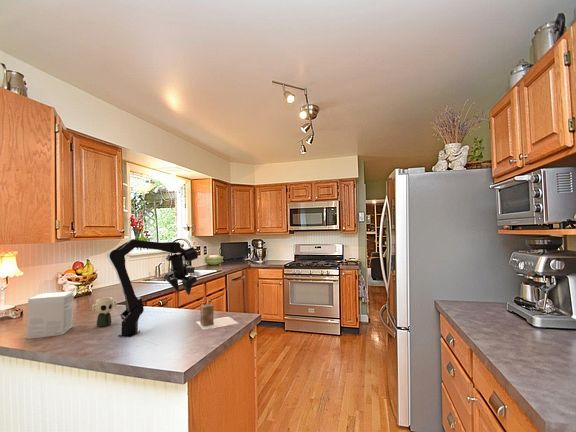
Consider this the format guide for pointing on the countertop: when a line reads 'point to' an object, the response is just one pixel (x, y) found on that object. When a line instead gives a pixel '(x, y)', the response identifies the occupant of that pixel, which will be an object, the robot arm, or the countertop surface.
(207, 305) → the walnut block
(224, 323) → the cream board
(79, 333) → the countertop surface
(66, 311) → the supplement box
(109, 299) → the big eyed figurine
